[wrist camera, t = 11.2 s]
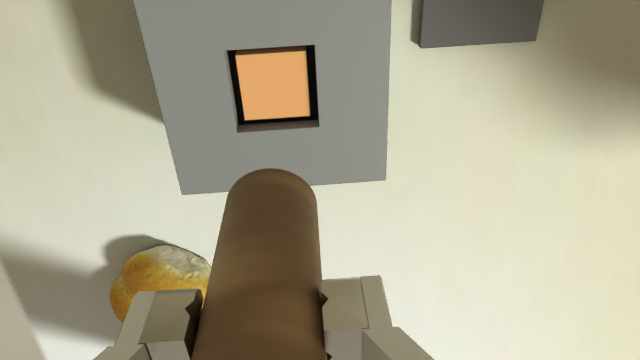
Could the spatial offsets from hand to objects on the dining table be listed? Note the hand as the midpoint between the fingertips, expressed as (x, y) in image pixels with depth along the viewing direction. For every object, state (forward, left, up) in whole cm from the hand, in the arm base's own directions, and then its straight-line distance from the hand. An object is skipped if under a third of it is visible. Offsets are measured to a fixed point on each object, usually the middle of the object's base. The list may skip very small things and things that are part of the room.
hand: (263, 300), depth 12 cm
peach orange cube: (0, 0, -19) cm, 19 cm away
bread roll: (+12, +19, -22) cm, 32 cm away
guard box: (0, 0, -22) cm, 22 cm away
